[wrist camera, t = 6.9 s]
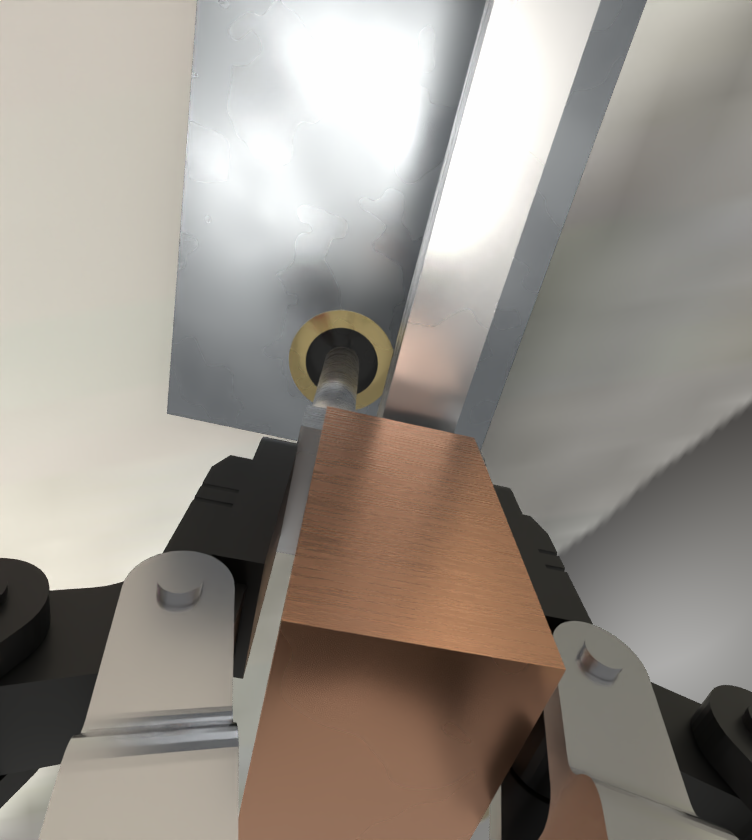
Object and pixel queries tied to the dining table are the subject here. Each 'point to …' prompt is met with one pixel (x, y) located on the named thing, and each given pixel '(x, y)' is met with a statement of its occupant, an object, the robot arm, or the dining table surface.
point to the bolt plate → (378, 198)
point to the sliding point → (393, 636)
